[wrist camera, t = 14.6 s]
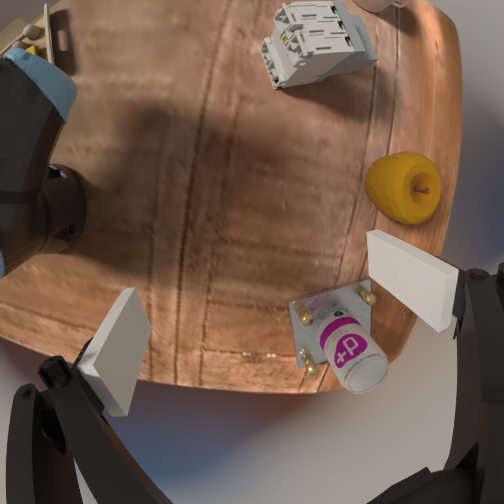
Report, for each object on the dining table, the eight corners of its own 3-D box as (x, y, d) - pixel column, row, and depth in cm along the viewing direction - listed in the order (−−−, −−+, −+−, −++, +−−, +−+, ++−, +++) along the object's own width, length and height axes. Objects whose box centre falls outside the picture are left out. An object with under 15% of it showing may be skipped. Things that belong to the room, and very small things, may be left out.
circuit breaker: (352, 77, 37) (403, 52, 23) (274, 89, 37) (303, 55, 23) (338, 40, 35) (382, 5, 21) (259, 49, 35) (280, 3, 20)
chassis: (297, 365, 53) (304, 381, 48) (287, 300, 48) (294, 314, 43) (367, 342, 54) (378, 355, 49) (368, 277, 49) (381, 287, 44)
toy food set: (-20, 146, 31) (-44, 147, 23) (-26, 82, 25) (-46, 78, 18) (66, 73, 31) (45, 61, 24) (56, 10, 25) (39, -5, 18)
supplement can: (306, 325, 49) (336, 379, 35) (344, 300, 48) (385, 346, 34) (324, 351, 51) (354, 403, 37) (359, 328, 51) (396, 374, 37)
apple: (399, 215, 46) (445, 233, 34) (350, 210, 44) (393, 228, 32) (405, 157, 43) (454, 160, 31) (356, 146, 41) (402, 143, 29)
